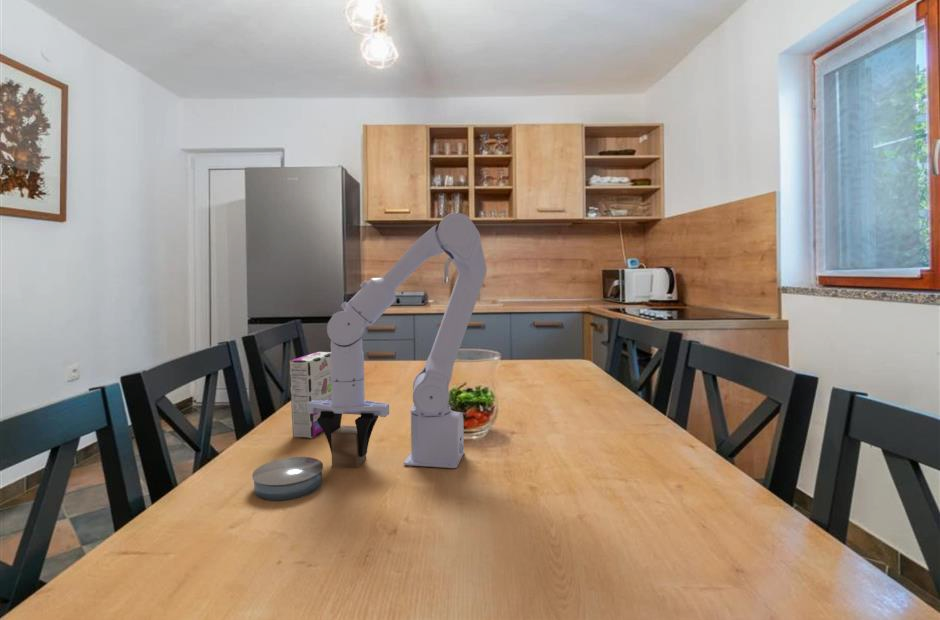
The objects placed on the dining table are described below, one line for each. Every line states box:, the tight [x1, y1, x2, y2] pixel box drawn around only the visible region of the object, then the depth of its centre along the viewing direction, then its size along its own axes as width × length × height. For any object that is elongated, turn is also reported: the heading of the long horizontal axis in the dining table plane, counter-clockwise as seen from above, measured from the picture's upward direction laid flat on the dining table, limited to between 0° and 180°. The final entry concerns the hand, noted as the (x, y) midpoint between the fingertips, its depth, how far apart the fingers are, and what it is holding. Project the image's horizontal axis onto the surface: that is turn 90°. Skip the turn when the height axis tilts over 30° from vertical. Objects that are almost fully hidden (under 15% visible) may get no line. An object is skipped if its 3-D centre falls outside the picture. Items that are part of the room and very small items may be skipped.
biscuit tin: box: [252, 456, 324, 502], centre depth 74 cm, size 10×10×3 cm
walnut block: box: [331, 425, 367, 470], centre depth 83 cm, size 4×4×6 cm
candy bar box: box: [288, 351, 331, 439], centre depth 101 cm, size 11×5×16 cm, turn 168°
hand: (349, 453), depth 84 cm, fingers closed on walnut block, 4 cm apart
